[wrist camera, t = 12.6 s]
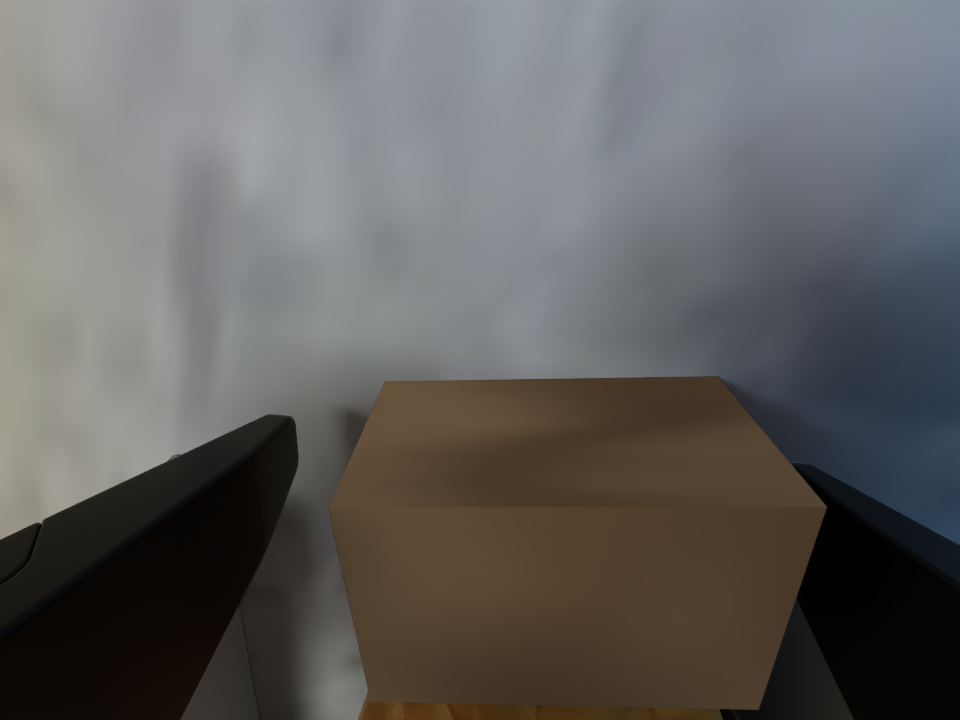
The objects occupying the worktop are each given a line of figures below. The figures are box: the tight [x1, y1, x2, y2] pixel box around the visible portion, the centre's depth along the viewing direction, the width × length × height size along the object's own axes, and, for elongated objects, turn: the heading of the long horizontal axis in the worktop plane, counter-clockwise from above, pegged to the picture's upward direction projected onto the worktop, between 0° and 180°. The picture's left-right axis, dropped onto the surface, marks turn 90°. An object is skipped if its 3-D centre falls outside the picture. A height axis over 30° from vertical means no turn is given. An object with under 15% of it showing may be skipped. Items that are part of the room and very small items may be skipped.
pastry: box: [358, 691, 740, 720], centre depth 11 cm, size 9×7×4 cm
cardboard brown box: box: [328, 376, 827, 710], centre depth 8 cm, size 6×4×4 cm, turn 92°
